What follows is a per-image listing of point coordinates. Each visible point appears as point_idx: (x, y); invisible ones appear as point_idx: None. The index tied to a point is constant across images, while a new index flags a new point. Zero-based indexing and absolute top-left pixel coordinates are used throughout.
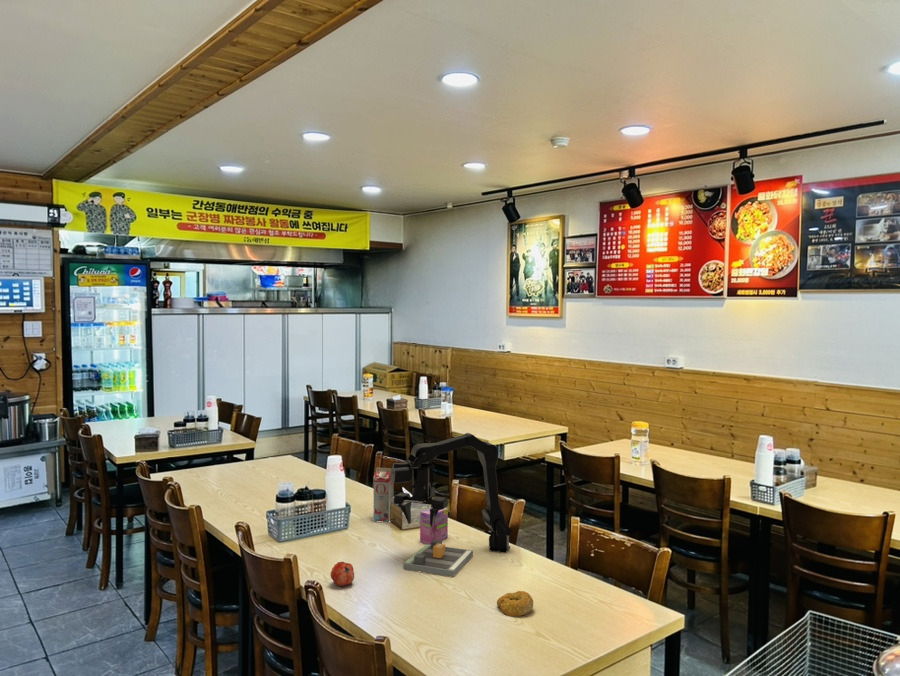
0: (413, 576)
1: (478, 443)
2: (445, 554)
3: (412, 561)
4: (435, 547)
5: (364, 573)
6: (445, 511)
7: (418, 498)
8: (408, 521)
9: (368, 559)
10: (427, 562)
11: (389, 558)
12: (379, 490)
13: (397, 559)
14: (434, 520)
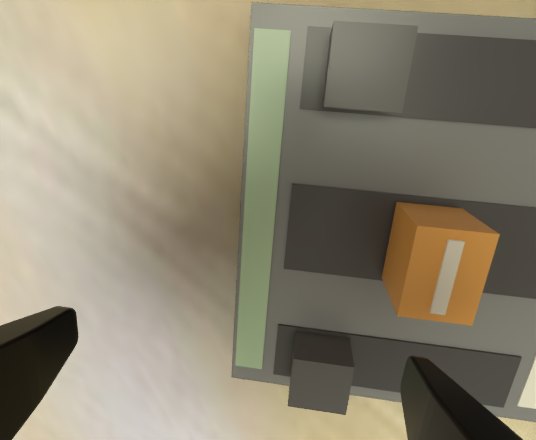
0: (315, 415)
1: None
2: (458, 187)
3: (269, 344)
4: (419, 317)
5: (95, 420)
6: None
7: None
8: (45, 379)
9: (16, 277)
10: (363, 348)
11: (105, 239)
12: None
13: (152, 242)
14: (498, 430)
